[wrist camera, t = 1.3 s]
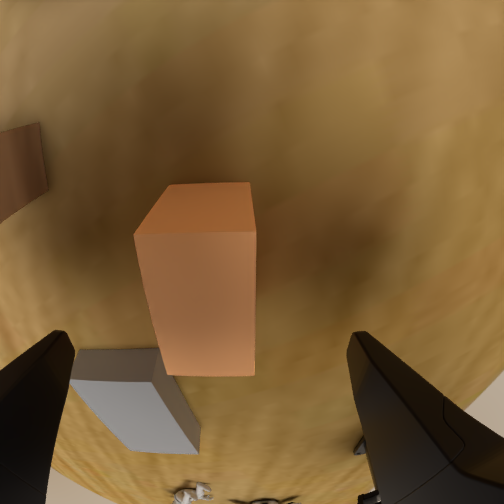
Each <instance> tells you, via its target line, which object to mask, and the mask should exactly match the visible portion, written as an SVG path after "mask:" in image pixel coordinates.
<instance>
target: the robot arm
mask: <svg viewBox="0 0 504 504" xmlns="http://www.w3.org/2000/svg"><path fill="white" fill-rule="evenodd" d="M74 357H75V350H74V347H73V345H72V343H71V341H70V339H69V336H68V334H67V333H66V332H65V331H61V330H54V331H52V332H51V333H50V334H48V335H47V336H46V337H44V338H43V339H41V340H40V341H39V342H37V343H36V344H35V345H33V346H32V347H31V348H29V349H28V350H27V351H25V352H24V353H23V354H21V355H20V356H19V357H17V358H16V359H15V360H13V361H12V362H11V363H9V364H8V365H7V366H5V367H4V368H3V369H2V370H0V504H45V501H46V493H47V485H48V479H49V473H50V467H51V462H52V457H53V452H54V447H55V442H56V437H57V433H58V429H59V424H60V420H61V416H62V412H63V408H64V405H65V401H66V397H67V393H68V388H69V383H70V377H71V372H72V367H73V362H74ZM347 362H348V367H349V373H350V378H351V384H352V390H353V396H354V400H355V404H356V408H357V411H358V415H359V418H360V422H361V425H362V429H363V432H364V437H363V438H362V440H361V441H360V443H359V444H358V446H357V447H356V449H355V450H354V451H353V453H354V455H361V454H365V453H366V457H367V460H368V464H369V468H370V471H371V475H372V479H373V483H374V487H375V491H372V492H370V493H367V494H362V495H359V496H358V503H357V504H504V438H503V437H501V436H500V435H498V434H497V433H495V432H494V431H492V430H491V429H489V428H488V427H486V426H485V425H483V424H481V423H480V422H479V421H477V420H476V419H474V418H473V417H472V416H470V415H469V414H467V413H466V412H464V411H463V410H462V409H461V408H459V407H458V406H457V405H456V404H454V403H453V402H452V401H451V400H449V399H448V398H447V397H446V396H444V395H443V394H442V393H441V392H440V391H439V390H437V389H436V388H435V387H434V386H432V385H431V384H430V383H429V382H428V381H426V380H425V379H424V378H423V377H422V376H420V375H419V374H418V373H417V372H416V371H414V370H413V369H412V368H411V367H409V366H408V365H407V364H406V363H405V362H403V361H402V360H401V359H400V358H398V357H397V356H396V355H395V354H394V353H392V352H391V351H390V350H389V349H387V348H386V347H385V346H384V345H383V344H381V343H380V342H379V341H378V340H376V339H375V338H374V337H373V336H372V335H370V334H369V333H368V332H366V331H357V332H353V333H352V335H351V338H350V342H349V345H348V348H347ZM380 500H381V501H380ZM377 501H380V502H377Z"/></svg>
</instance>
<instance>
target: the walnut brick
mask: <svg viewBox="0 0 504 504" xmlns="http://www.w3.org/2000/svg"><path fill="white" fill-rule="evenodd" d="M48 190H49V189H48V184H47V178H46V172H45V166H44V159H43V152H42V144H41V135H40V124H39V122H38V123H34V124H30V125H26V126H22V127H19V128H15V129H11V130H8V131H5V132H1V133H0V223H1V222H3V221H4V220H5V219H7V218H8V217H10V216H11V215H12V214H14V213H15V212H17V211H18V210H19V209H21V208H22V207H24V206H25V205H27V204H28V203H30V202H31V201H33V200H34V199H36V198H37V197H39V196H40V195H42V194H43V193H45V192H46V191H48Z"/></svg>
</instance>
